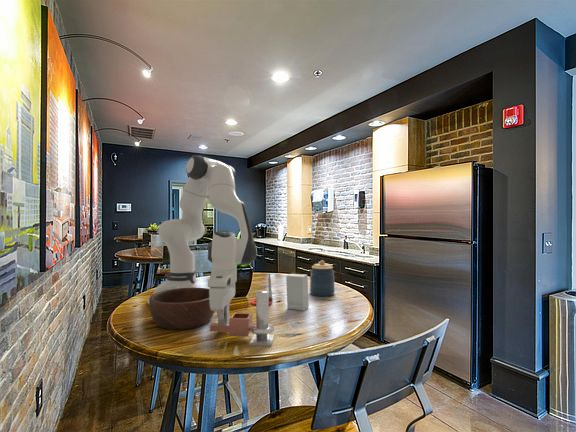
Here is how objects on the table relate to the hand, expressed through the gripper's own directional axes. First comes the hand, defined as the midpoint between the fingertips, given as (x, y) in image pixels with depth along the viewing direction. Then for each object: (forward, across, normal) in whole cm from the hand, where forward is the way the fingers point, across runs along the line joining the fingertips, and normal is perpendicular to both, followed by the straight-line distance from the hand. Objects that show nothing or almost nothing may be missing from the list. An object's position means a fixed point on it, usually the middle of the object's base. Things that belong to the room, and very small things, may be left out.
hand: (223, 316), depth 110 cm
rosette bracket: (+5, +8, +8) cm, 12 cm away
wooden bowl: (+6, -9, -18) cm, 21 cm away
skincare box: (+5, -29, +25) cm, 39 cm away
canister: (+5, -56, +37) cm, 67 cm away
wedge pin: (+5, 0, 0) cm, 5 cm away
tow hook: (+6, -36, +8) cm, 37 cm away
